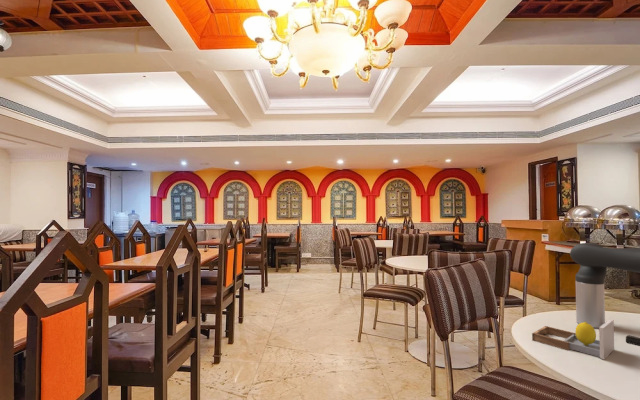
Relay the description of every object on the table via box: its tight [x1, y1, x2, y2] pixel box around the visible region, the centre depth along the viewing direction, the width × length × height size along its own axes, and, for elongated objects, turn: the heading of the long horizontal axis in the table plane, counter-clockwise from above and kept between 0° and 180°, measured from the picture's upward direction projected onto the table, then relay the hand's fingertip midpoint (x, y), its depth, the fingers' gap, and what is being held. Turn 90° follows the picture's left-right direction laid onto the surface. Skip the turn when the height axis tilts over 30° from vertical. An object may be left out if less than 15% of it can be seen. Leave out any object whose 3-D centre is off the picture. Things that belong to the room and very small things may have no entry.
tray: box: [563, 318, 615, 360], centre depth 115 cm, size 12×11×10 cm
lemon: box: [575, 322, 597, 346], centre depth 116 cm, size 6×6×8 cm
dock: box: [531, 325, 576, 351], centre depth 122 cm, size 12×11×2 cm
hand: (626, 338), depth 107 cm, fingers closed
